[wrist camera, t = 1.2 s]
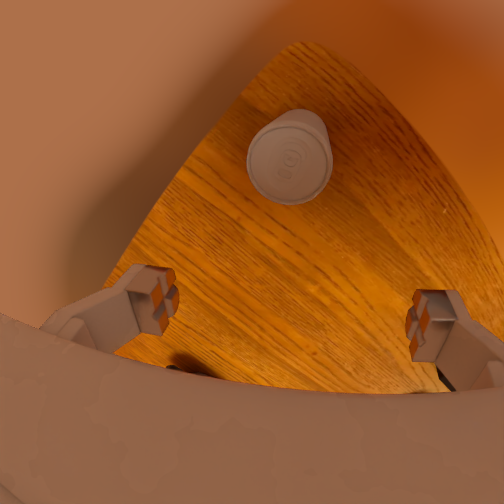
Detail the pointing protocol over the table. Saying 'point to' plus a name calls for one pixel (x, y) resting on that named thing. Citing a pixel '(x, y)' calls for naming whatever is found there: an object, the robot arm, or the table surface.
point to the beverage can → (291, 158)
